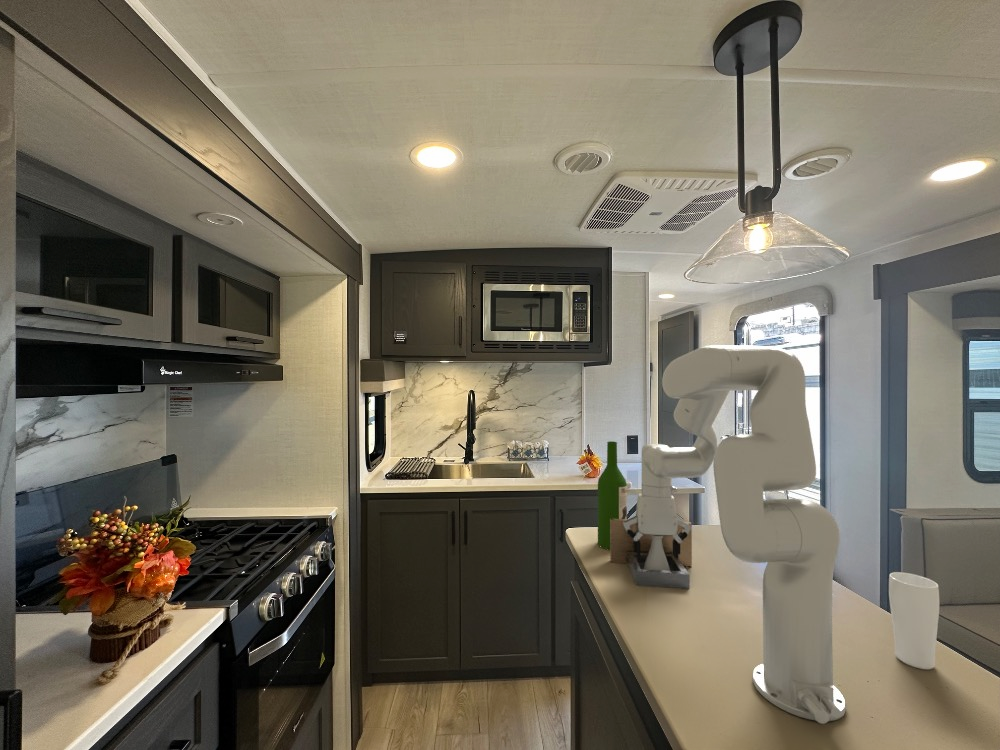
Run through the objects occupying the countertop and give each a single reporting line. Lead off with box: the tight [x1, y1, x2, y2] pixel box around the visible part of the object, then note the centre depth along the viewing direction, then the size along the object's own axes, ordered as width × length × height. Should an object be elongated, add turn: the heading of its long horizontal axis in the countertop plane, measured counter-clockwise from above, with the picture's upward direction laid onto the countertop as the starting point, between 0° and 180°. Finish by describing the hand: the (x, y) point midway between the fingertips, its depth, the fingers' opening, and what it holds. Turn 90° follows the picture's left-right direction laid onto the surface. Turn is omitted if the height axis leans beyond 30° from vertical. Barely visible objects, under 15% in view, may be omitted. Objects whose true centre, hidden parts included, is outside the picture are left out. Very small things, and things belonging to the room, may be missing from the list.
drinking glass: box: [888, 571, 940, 670], centre depth 81 cm, size 7×7×15 cm
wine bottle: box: [597, 441, 628, 550], centre depth 139 cm, size 9×9×32 cm
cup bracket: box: [609, 518, 693, 589], centre depth 118 cm, size 15×22×12 cm
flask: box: [643, 535, 670, 571], centre depth 116 cm, size 7×7×10 cm
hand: (656, 555), depth 117 cm, fingers open, 9 cm apart
